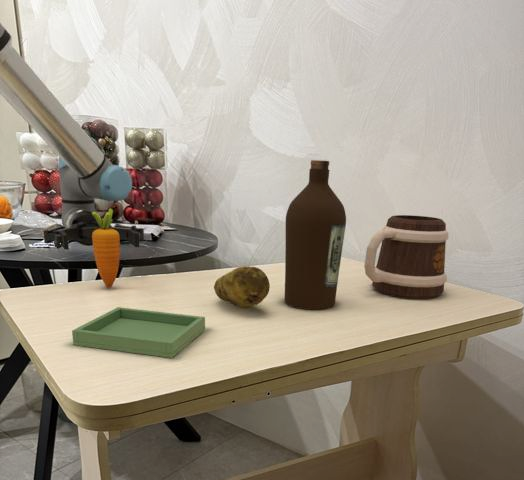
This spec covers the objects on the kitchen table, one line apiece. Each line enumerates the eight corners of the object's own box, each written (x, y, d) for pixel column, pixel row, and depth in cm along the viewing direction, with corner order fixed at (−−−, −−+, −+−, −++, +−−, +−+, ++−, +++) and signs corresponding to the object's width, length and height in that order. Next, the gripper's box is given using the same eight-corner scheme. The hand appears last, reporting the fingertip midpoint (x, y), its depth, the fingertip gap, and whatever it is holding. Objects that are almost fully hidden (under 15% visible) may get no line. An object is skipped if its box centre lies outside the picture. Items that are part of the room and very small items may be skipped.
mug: (405, 280, 119) (414, 212, 114) (459, 295, 107) (473, 221, 102) (337, 288, 109) (344, 214, 104) (389, 306, 97) (400, 224, 92)
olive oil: (272, 305, 94) (280, 158, 85) (292, 293, 103) (300, 159, 95) (329, 314, 90) (343, 161, 82) (344, 300, 100) (357, 162, 91)
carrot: (95, 291, 99) (89, 210, 93) (96, 285, 103) (90, 207, 98) (122, 290, 100) (117, 210, 95) (122, 284, 104) (118, 207, 99)
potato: (255, 298, 99) (257, 256, 96) (273, 318, 87) (275, 270, 84) (212, 299, 97) (212, 256, 94) (224, 319, 85) (224, 271, 82)
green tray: (73, 344, 71) (71, 330, 71) (118, 319, 83) (117, 306, 82) (172, 358, 68) (171, 343, 67) (205, 329, 80) (205, 316, 79)
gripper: (140, 241, 127) (165, 257, 109) (28, 245, 116) (36, 263, 98) (139, 210, 124) (164, 220, 106) (24, 210, 113) (31, 222, 96)
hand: (102, 241), depth 102 cm, fingers open, 13 cm apart
